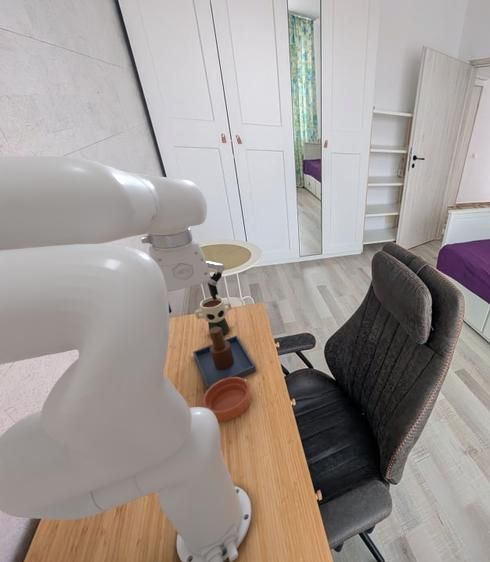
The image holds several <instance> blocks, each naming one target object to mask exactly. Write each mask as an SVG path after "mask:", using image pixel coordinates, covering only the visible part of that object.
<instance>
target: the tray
mask: <svg viewBox="0 0 490 562" xmlns="http://www.w3.org/2000/svg"><path fill="white" fill-rule="evenodd" d="M224 341H228V342H229V343H230V346H231V350H232V354H233V358H234V363H233V365H232V366H231V367H229V368H227V369H224V370H218V369H216V367H215V365H214V361H213V358H212V355H211V352H210V347H211V346H212V345H213V343H212V344H209V345H207V346H204V347H202V348H199V349H197V350H193V351H192V353H193V356H194V359H195V361H196V364H197V366H198V370H199V372H200V374H201V377H202V379H203V382H204V385H205V387H206V391H207V390H208V389H209V388H210V387H211V386H212V385H213V384H215V383H216V382H218V381H220V380H222V379H225V378H229V377H240V378H243V379H244V378H245V377H247V376H249V375H252V374H254V373H256V372H257V368H256V364H255V363H254V362H253V360H252V358H251V357H250V355H249V353H248V351H247V350H246V348H245V347H244V345H243V343H242V341H241V340H240V338H239V337H238V335H234V336H231V337H228V338H226V339H224Z"/></svg>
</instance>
